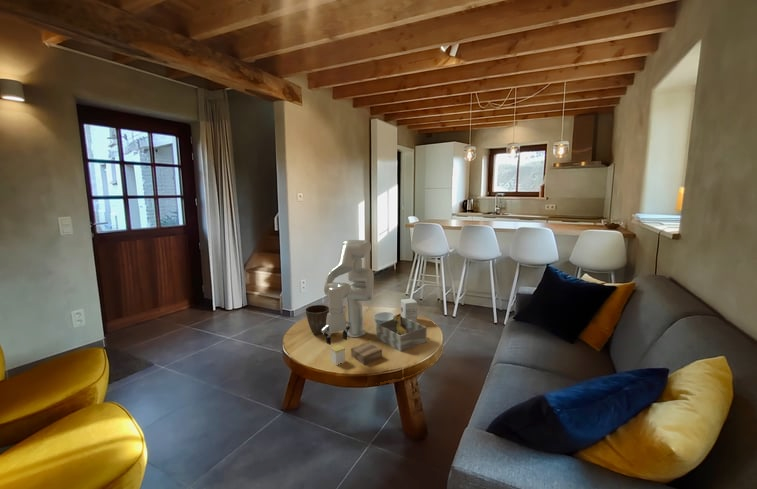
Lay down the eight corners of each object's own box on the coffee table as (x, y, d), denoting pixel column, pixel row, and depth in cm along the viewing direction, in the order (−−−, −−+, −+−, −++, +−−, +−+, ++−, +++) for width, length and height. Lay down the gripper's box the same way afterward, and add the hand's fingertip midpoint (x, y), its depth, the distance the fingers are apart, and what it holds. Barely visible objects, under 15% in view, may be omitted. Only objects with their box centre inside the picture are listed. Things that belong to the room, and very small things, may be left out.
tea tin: (330, 361, 182) (330, 347, 181) (340, 358, 186) (339, 344, 184) (336, 365, 178) (335, 351, 177) (345, 362, 181) (345, 348, 180)
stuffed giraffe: (397, 330, 219) (397, 307, 216) (420, 339, 208) (421, 314, 205) (381, 340, 207) (381, 316, 204) (405, 349, 196) (405, 324, 193)
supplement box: (400, 319, 239) (400, 299, 237) (412, 318, 242) (412, 297, 239) (405, 324, 230) (405, 303, 228) (417, 322, 233) (417, 301, 231)
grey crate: (376, 337, 210) (376, 324, 209) (402, 329, 222) (402, 316, 221) (400, 351, 192) (400, 336, 191) (426, 341, 204) (426, 327, 203)
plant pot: (332, 328, 226) (331, 305, 224) (327, 337, 212) (326, 313, 209) (310, 327, 228) (309, 304, 225) (303, 337, 213) (302, 312, 210)
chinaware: (397, 331, 219) (396, 320, 218) (373, 331, 219) (373, 320, 218) (396, 322, 234) (396, 312, 233) (374, 322, 234) (374, 312, 233)
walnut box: (351, 357, 188) (351, 348, 187) (368, 350, 195) (368, 342, 194) (364, 365, 178) (364, 356, 177) (382, 358, 186) (381, 349, 185)
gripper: (346, 305, 185) (347, 335, 187) (317, 311, 175) (318, 343, 177) (354, 308, 179) (354, 339, 181) (324, 315, 169) (325, 348, 171)
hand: (337, 341), depth 179 cm, fingers open, 9 cm apart
